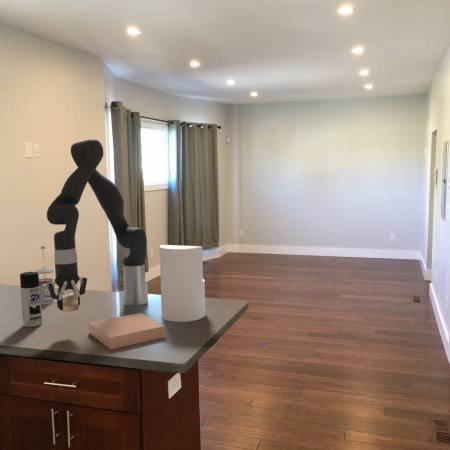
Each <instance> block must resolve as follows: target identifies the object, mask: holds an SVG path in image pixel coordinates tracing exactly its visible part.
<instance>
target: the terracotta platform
mask: <svg viewBox="0 0 450 450" xmlns="http://www.w3.org/2000/svg"><path fill="white" fill-rule="evenodd" d="M88 325H89V326H88V329H89V330H88V331H89V334H90V335H91V336H92V337H94V338H95V339H96V340H97V341H99V342H100V343H102V344H103V345H105V346H106V347H107V348H108V349H110V350H115V349H118V348H124V347H129V346H133V345H136V344H141V343H145V342H149V341H150V340H151V341H154V339H155V340H158V338H159V339H162V338H163V337H164V338H166V337H167V336H166V335H167V333H166V325H164V324H162V323H161V322H159V321H157V320H156V319H154V318H152V317H149V316H148V315H146V314H145V313H141V312H138V313H133V314H128V315H127V314H126V315H122V316H116V317H112V318H105V319H100V320H95V321H90V322H88ZM164 338H163V339H164Z"/></svg>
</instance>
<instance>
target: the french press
mask: <svg viewBox="0 0 450 450" xmlns="http://www.w3.org/2000/svg"><path fill="white" fill-rule="evenodd" d="M40 249H41V250H42V254H43V255H42V259H43V260H45V256H44V255H45V253H44V250H45V249H46V247H45V245H43V246H40ZM54 271H55V269H52V268H50V267H46V266H43V267H40V268H38V269H36V270H35V271H34V272H38V274H40V275H43V274H44V278H39V285H40V300H41V305H49V304H54V303H56V302H57V299H53V298H52V297H51V295H50V292H49V289H48V286H47V283H48V282H53V281H54V279H53V278H51V277H48V278H46V275H47V274H51V273H54ZM55 289H56V287H54V291H55Z"/></svg>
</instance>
